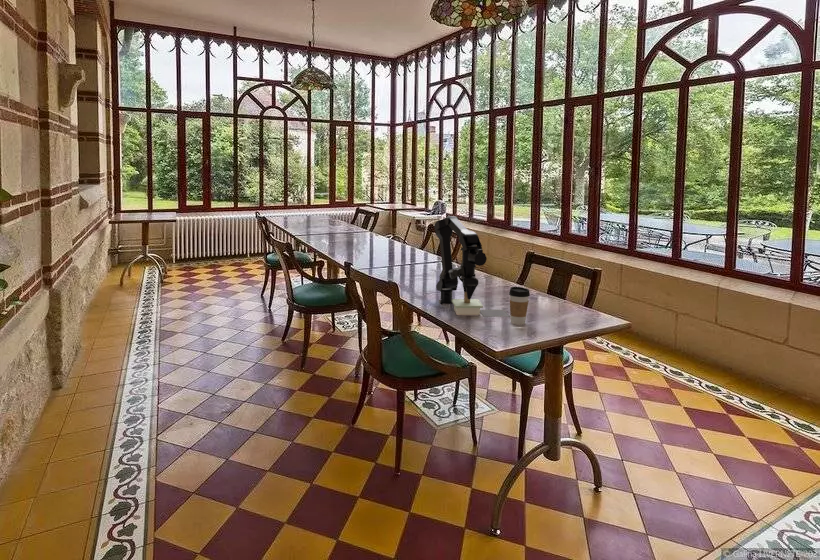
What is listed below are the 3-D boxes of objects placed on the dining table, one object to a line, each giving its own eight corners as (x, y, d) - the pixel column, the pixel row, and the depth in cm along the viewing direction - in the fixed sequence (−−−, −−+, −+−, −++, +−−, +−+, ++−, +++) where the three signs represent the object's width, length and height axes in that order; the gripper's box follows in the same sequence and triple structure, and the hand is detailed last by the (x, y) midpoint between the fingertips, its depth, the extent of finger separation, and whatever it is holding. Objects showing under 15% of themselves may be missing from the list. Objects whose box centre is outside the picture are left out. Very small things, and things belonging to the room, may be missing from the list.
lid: (451, 301, 242) (452, 289, 241) (478, 301, 243) (478, 289, 242) (455, 308, 230) (455, 295, 229) (482, 308, 231) (483, 295, 230)
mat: (478, 310, 242) (478, 309, 242) (504, 310, 243) (504, 309, 243) (482, 317, 231) (482, 316, 231) (510, 317, 231) (510, 316, 231)
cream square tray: (454, 310, 242) (454, 301, 241) (475, 310, 242) (476, 301, 242) (457, 316, 232) (457, 307, 231) (479, 316, 233) (480, 307, 232)
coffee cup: (515, 319, 228) (517, 285, 225) (532, 323, 223) (534, 288, 219) (503, 323, 223) (505, 288, 220) (520, 327, 217) (522, 291, 214)
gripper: (447, 258, 241) (446, 291, 244) (452, 265, 223) (451, 301, 226) (472, 258, 242) (470, 291, 245) (479, 265, 224) (477, 301, 227)
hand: (467, 296), depth 236 cm, fingers open, 9 cm apart
